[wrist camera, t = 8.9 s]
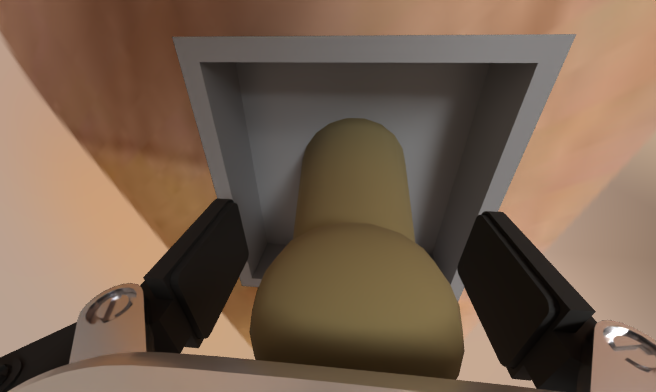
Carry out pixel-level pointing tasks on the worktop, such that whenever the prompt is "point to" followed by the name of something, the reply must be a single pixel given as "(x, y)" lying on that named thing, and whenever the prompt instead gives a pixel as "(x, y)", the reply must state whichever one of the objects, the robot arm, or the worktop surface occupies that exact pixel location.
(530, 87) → the box
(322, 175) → the cork
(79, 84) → the worktop surface
